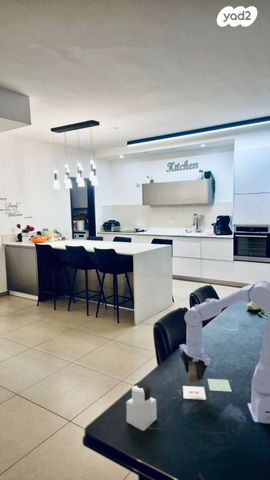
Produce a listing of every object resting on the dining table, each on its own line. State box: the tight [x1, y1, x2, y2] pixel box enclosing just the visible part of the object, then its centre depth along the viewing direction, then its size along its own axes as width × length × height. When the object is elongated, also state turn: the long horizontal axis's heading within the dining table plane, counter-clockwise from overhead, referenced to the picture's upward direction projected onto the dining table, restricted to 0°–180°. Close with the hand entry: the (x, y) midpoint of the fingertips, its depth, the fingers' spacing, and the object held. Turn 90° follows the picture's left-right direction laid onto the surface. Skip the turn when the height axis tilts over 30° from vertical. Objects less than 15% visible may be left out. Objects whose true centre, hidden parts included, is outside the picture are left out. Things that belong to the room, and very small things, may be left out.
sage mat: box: [207, 378, 233, 392], centre depth 121 cm, size 8×8×1 cm
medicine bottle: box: [125, 382, 157, 432], centre depth 101 cm, size 7×7×12 cm
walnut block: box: [188, 360, 201, 384], centre depth 116 cm, size 4×4×6 cm
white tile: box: [182, 385, 207, 401], centre depth 117 cm, size 8×8×1 cm
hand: (194, 375), depth 116 cm, fingers closed on walnut block, 6 cm apart
